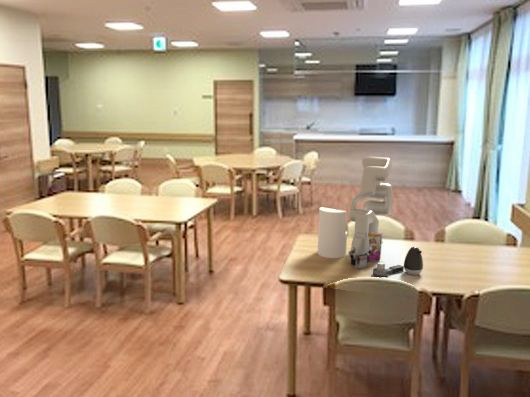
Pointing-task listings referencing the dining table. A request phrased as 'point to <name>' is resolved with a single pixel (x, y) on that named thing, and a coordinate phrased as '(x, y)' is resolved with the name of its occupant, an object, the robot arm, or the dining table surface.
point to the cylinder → (332, 233)
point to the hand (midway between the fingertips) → (359, 263)
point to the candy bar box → (375, 245)
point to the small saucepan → (386, 270)
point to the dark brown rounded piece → (413, 261)
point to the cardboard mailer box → (361, 261)
